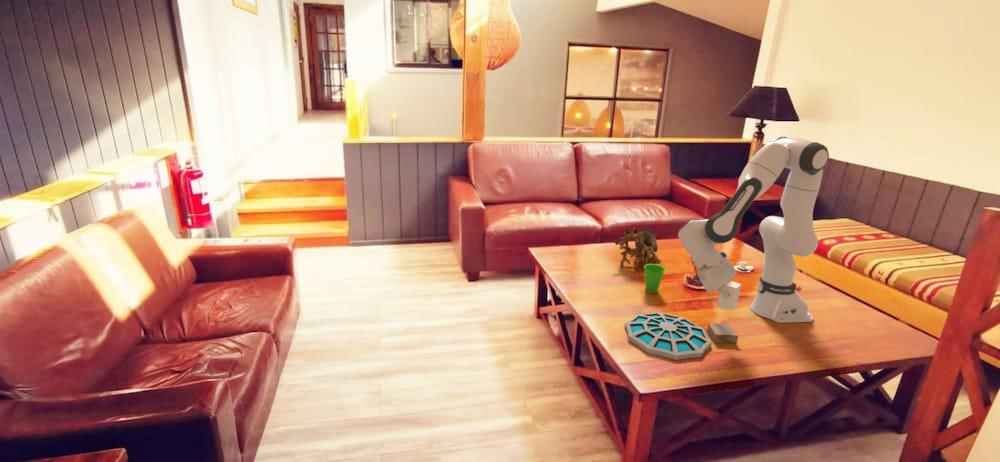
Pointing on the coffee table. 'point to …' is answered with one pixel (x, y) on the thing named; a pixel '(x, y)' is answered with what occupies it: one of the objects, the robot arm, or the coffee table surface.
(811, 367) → the coffee table surface
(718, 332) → the walnut base block
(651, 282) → the cup
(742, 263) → the teacup and saucer
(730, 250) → the coffee table surface
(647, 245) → the decorative coral sculpture
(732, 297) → the cream pillar block
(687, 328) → the decorative platform
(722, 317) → the coffee table surface
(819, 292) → the coffee table surface
